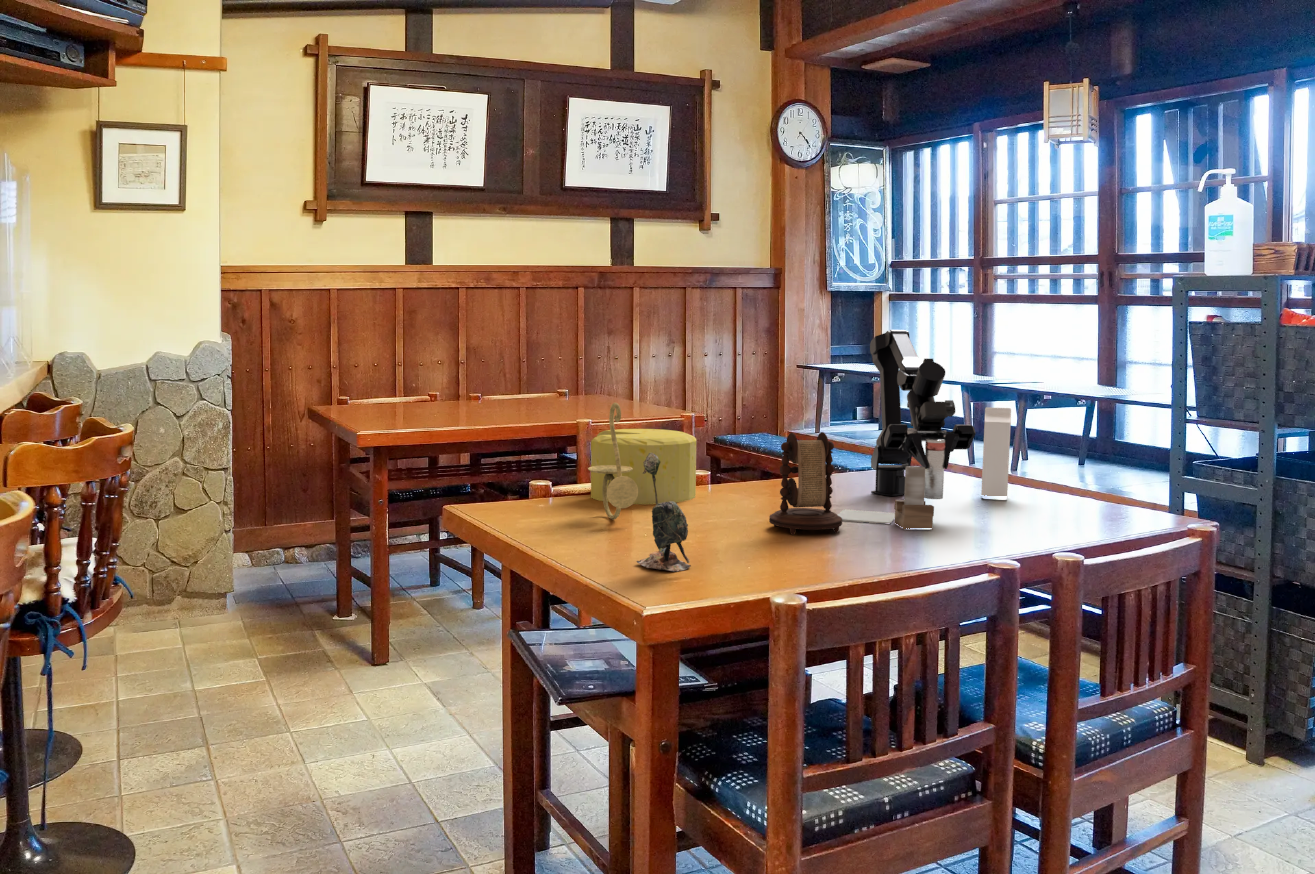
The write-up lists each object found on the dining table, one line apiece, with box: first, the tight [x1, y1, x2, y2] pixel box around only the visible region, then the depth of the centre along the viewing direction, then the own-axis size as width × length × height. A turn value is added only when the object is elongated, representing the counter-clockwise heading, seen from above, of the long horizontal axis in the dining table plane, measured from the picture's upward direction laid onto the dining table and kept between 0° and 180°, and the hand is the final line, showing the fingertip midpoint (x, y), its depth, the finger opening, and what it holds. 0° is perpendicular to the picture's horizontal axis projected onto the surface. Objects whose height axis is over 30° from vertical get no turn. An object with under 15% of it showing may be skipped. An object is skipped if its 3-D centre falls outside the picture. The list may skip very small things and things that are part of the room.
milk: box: [980, 406, 1012, 497], centre depth 265 cm, size 6×6×22 cm
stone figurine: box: [636, 453, 692, 573], centre depth 188 cm, size 8×11×20 cm
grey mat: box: [837, 508, 895, 524], centre depth 239 cm, size 12×12×1 cm
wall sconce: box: [587, 402, 638, 521], centre depth 232 cm, size 14×10×25 cm
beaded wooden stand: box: [768, 432, 843, 536], centre depth 224 cm, size 15×15×20 cm
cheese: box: [590, 428, 697, 505], centre depth 264 cm, size 26×26×15 cm
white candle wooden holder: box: [894, 465, 935, 530], centre depth 228 cm, size 8×6×12 cm
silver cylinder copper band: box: [924, 438, 945, 500], centre depth 234 cm, size 4×4×12 cm
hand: (936, 467), depth 233 cm, fingers closed on silver cylinder copper band, 4 cm apart
